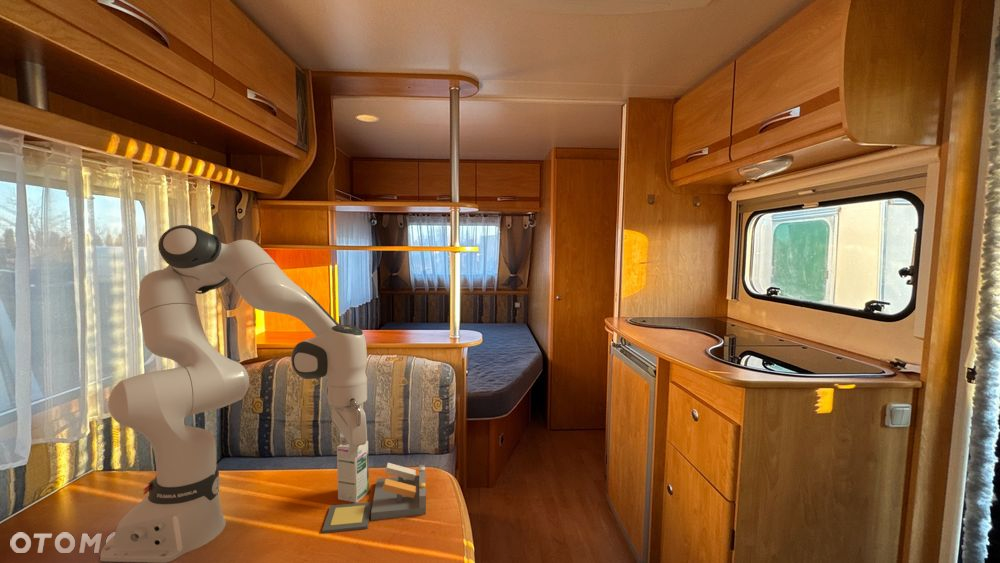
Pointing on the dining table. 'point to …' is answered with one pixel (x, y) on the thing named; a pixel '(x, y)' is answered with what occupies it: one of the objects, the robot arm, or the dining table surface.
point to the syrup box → (352, 473)
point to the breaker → (400, 471)
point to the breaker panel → (399, 499)
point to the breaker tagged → (399, 488)
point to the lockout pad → (347, 517)
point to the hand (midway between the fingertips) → (348, 450)
